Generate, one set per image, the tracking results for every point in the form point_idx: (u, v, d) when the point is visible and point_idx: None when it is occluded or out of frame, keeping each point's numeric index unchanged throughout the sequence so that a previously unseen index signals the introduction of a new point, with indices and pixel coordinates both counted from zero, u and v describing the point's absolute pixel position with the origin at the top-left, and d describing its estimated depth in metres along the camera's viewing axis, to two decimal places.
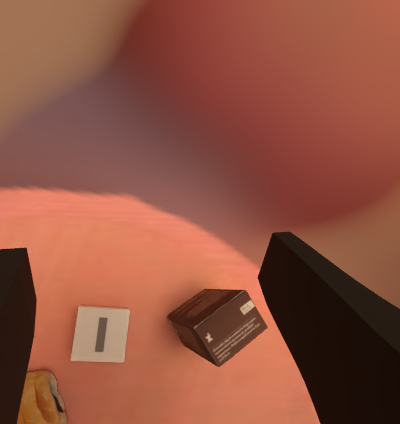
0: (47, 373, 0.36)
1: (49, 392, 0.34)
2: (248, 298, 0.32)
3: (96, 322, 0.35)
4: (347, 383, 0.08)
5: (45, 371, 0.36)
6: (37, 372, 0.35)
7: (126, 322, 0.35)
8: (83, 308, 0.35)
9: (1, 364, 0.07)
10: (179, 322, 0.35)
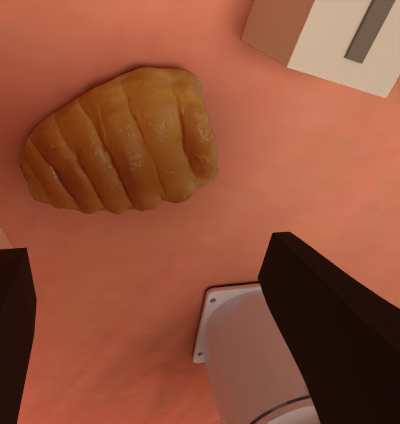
0: (196, 81, 0.16)
1: (209, 126, 0.15)
2: None
3: None
4: (347, 383, 0.08)
5: (192, 75, 0.16)
6: (175, 73, 0.15)
7: None
8: None
9: (1, 364, 0.07)
10: None
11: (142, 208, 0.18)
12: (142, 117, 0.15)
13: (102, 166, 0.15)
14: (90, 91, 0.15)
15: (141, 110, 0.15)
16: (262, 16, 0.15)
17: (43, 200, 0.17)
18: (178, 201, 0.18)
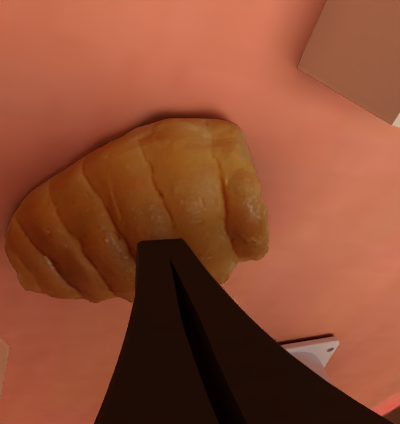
0: (242, 136, 0.11)
1: (261, 199, 0.11)
2: None
3: None
4: None
5: (236, 128, 0.11)
6: (213, 127, 0.11)
7: None
8: None
9: None
10: None
11: None
12: (171, 193, 0.11)
13: (115, 257, 0.11)
14: (97, 155, 0.11)
15: (170, 184, 0.10)
16: (337, 41, 0.10)
17: (37, 291, 0.13)
18: None
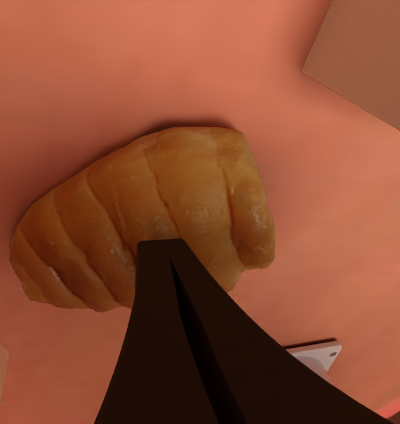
0: (247, 144, 0.11)
1: (267, 208, 0.11)
2: None
3: None
4: None
5: (241, 137, 0.11)
6: (218, 136, 0.11)
7: None
8: None
9: None
10: None
11: None
12: (177, 204, 0.10)
13: (120, 268, 0.11)
14: (102, 166, 0.11)
15: (175, 194, 0.10)
16: (342, 44, 0.10)
17: (42, 302, 0.13)
18: None
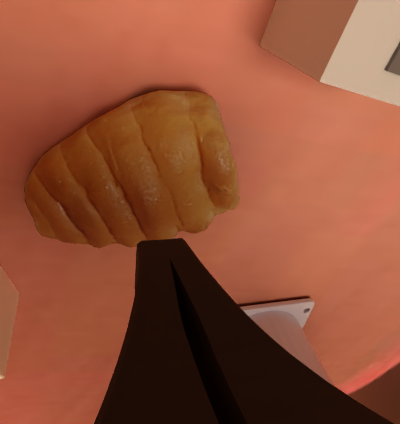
0: (214, 104, 0.14)
1: (230, 154, 0.14)
2: None
3: None
4: None
5: (209, 98, 0.14)
6: (191, 97, 0.14)
7: None
8: None
9: None
10: None
11: None
12: (157, 148, 0.13)
13: (114, 201, 0.14)
14: (99, 120, 0.14)
15: (156, 140, 0.13)
16: (286, 21, 0.13)
17: (50, 236, 0.16)
18: (196, 232, 0.16)
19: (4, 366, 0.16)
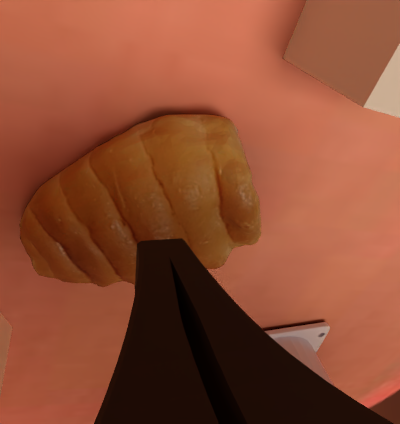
0: (234, 129, 0.12)
1: (252, 187, 0.12)
2: None
3: None
4: None
5: (228, 123, 0.12)
6: (208, 122, 0.12)
7: None
8: None
9: None
10: None
11: None
12: (170, 183, 0.12)
13: (120, 242, 0.12)
14: (103, 150, 0.12)
15: (169, 174, 0.12)
16: (318, 32, 0.11)
17: (49, 276, 0.14)
18: (211, 268, 0.15)
19: None
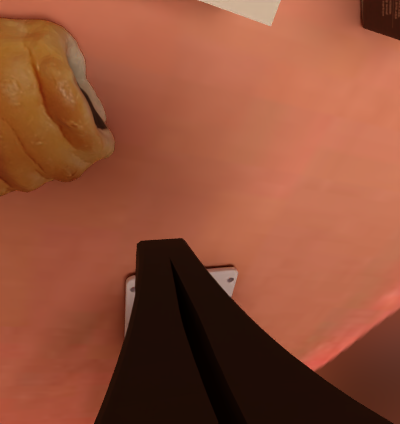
0: (59, 32, 0.13)
1: (73, 85, 0.13)
2: None
3: None
4: None
5: (52, 25, 0.13)
6: (31, 24, 0.13)
7: None
8: None
9: None
10: None
11: (23, 189, 0.15)
12: None
13: None
14: None
15: None
16: None
17: None
18: (64, 179, 0.15)
19: None
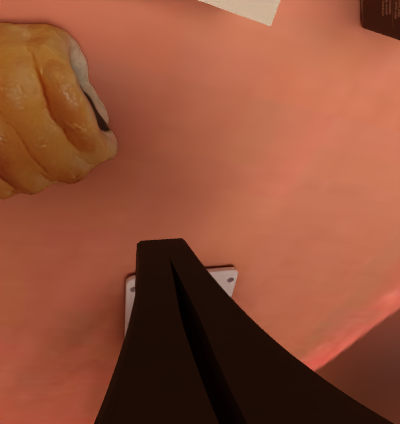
0: (62, 36, 0.13)
1: (77, 88, 0.13)
2: None
3: None
4: None
5: (55, 29, 0.13)
6: (34, 28, 0.13)
7: None
8: None
9: None
10: None
11: (28, 191, 0.16)
12: None
13: None
14: None
15: None
16: None
17: None
18: (68, 181, 0.16)
19: None
